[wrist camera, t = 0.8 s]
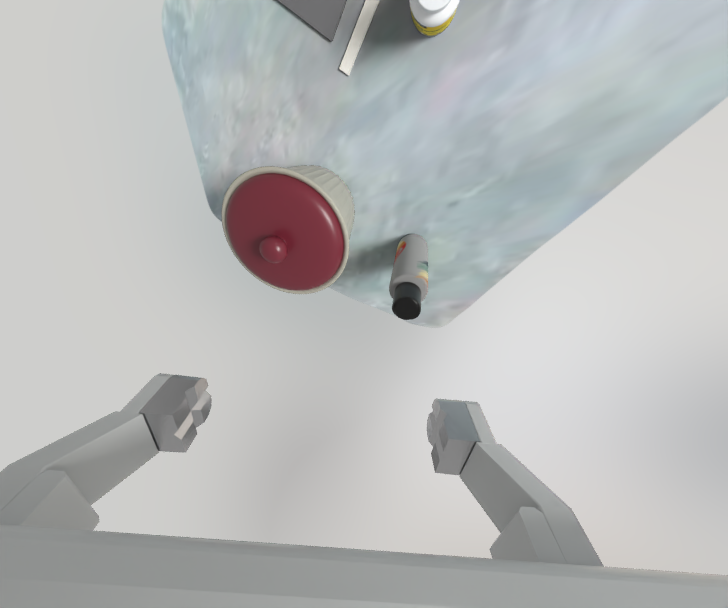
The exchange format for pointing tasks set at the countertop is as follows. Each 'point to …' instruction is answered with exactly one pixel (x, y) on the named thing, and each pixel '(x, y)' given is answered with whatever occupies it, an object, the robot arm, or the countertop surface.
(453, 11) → the supplement bottle
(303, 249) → the canister
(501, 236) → the countertop surface
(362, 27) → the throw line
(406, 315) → the lotion bottle
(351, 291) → the countertop surface
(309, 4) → the mat
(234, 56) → the countertop surface
